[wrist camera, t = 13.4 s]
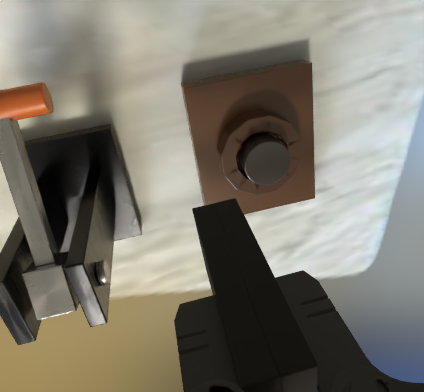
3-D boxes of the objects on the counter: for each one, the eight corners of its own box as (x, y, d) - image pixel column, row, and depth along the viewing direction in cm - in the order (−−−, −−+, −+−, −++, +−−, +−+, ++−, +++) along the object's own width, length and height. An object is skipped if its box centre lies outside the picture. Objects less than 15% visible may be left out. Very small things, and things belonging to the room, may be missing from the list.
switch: (-46, 102, 20) (-72, 100, 18) (49, 83, 21) (35, 80, 18) (25, 305, 23) (10, 327, 21) (107, 286, 24) (102, 305, 21)
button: (236, 138, 29) (242, 146, 28) (281, 129, 30) (289, 136, 28) (241, 180, 31) (247, 190, 30) (284, 170, 31) (291, 179, 30)
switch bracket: (7, 144, 29) (-79, 248, 17) (111, 123, 30) (96, 210, 18) (53, 247, 34) (10, 384, 22) (141, 227, 35) (145, 349, 23)
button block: (180, 83, 30) (186, 94, 27) (303, 59, 31) (322, 66, 27) (205, 213, 36) (212, 233, 32) (307, 190, 36) (323, 207, 33)
